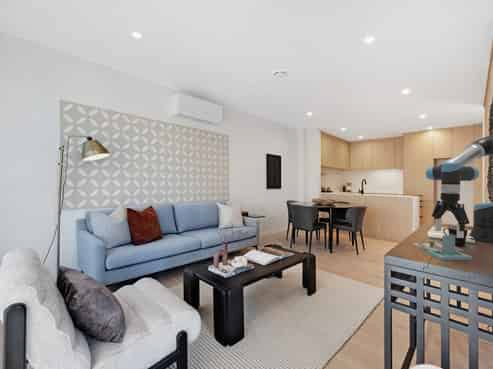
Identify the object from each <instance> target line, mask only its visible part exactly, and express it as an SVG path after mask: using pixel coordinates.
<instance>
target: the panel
mask: <svg viewBox="0 0 493 369" xmlns="http://www.w3.org/2000/svg"><path fill="white" fill-rule="evenodd" d="M441 243H442V250H425V252H426V254H428V255H430V256H432V257H434V258H436V259H438V260H441V261H457V260H458V261H460V260H463V261H472V260H473V255H469V254H466V253H465V252H459V251H456V250H455V247H456V246H455V237H454V236H451V235H449V234H447V235H445V234H443V235H442V241H441Z"/></svg>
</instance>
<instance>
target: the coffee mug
mask: <svg viewBox="0 0 493 369" xmlns="http://www.w3.org/2000/svg"><path fill="white" fill-rule="evenodd" d="M445 230H448V234H447V233H446V231H445ZM442 231H443V232H442V233H443V235H451V236H454V237H455V247H456V248H458V247H459V248H463V247H466V246H465V245H466V240H467V235H468V231H469V229H468V228H466V227H465V231H464V238H457V226H448V227H444V228H443V230H442Z"/></svg>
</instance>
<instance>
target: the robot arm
mask: <svg viewBox="0 0 493 369" xmlns="http://www.w3.org/2000/svg"><path fill="white" fill-rule="evenodd" d="M486 156H493V134H492V135H487V136H485V137H482V138H480V139H477V140H475V141H473V142H471V143H470V144H468V145H466V147H465V148H464V149H463V150H462V151H460V152H458V153H457V154H455V155H454V156H452V157H451V158H448V160H445V161H444V162H442V163H441V164H439V165H438V166H431V167H428V168H426V171H425V176H426V178H427V179H428V180H431V181H441V182H440V192H441V193H440V198H439V199H440V200H437V201H436V205H435V207H434V209H433V211H432V214H431V217H432V218H434V226H435V227H434V231H436V232H442V222H443V221H442V219H443V218H442V216H444V214H446V212H447V211H448V212H450V213H452V215H453V216H454V218H455V220H456V221H457V223H456V224H457V225H456V227H457V238H464V231H465V228H466V225H469V224H470V220H469V217H468V215H467V211H466V210H465V204H464V203H459V202H460V200H461V194H460V193H461V182H472V181H475V180H477V179H478V178H479V176H480V171H479V169H478V168H477V167H475V166H471V165H468V164H471V163H472V162H473V161H474V160H476V159H481V158H483V157H486ZM472 223H473V224H472V225H473V226H472V227H471V230H470V232H469V233H468V234H469V236H471V237H473V238H474V239H475V240H474V241H478V242H483V243H489V244H490V243H491V244H493V203H492V202H490V203H489V202H487V203H486V202H485V203H483V202H482V203H476V204H474V206H473V222H472ZM469 236H468V237H469Z"/></svg>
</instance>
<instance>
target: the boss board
mask: <svg viewBox="0 0 493 369" xmlns="http://www.w3.org/2000/svg"><path fill="white" fill-rule="evenodd" d="M412 245H413V246H414V247H416V248H420V249H421V250H424V251H426V250H442V242H435V241H433V240H429V241H428V242H413V243H412ZM455 250H456V251H459V252H461V253H465V250H464V249H461V248H460V247H459V248H458V247H457V246H455Z"/></svg>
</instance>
